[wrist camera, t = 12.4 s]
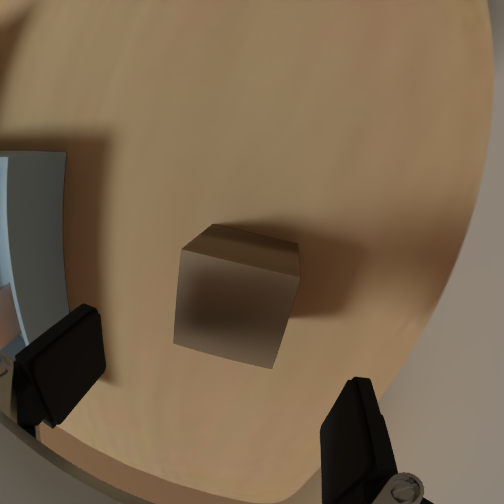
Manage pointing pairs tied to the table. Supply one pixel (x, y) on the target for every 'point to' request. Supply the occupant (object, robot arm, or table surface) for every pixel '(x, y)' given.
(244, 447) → the table surface
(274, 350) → the walnut block
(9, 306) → the canister
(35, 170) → the tote
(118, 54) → the table surface
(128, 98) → the table surface
